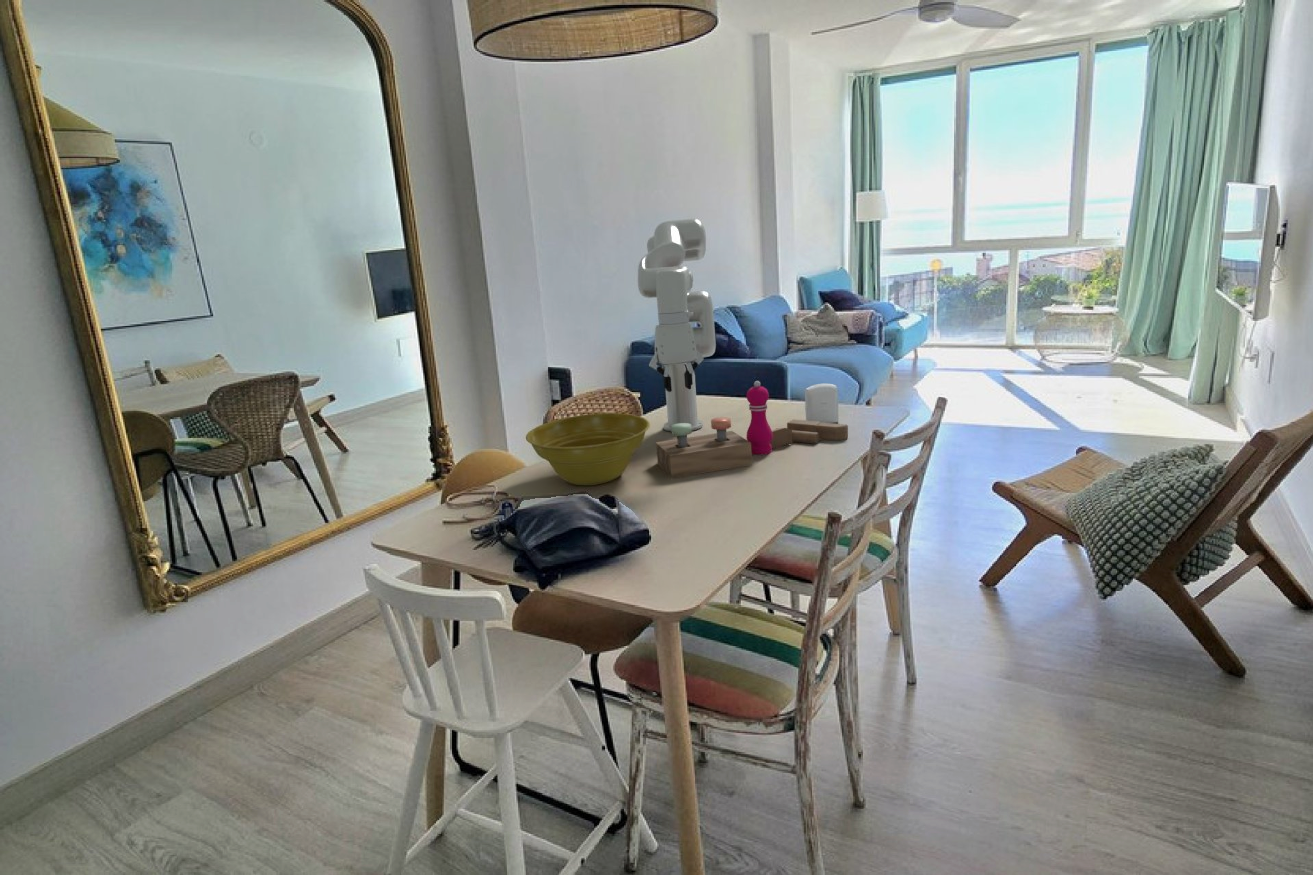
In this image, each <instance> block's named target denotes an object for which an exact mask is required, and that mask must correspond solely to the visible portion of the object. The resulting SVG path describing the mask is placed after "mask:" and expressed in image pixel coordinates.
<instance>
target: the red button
mask: <svg viewBox="0 0 1313 875" xmlns="http://www.w3.org/2000/svg"><path fill="white" fill-rule="evenodd" d="M731 422H732V420H731V418H730V417H726V416H725V417H722V416H721V417H715V418H711V420H710V425H711V429H712V430H716V433H717V442H723V441H727V434H726V432H727V430H728V429H730V428H732V423H731Z"/></svg>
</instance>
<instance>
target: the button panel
mask: <svg viewBox="0 0 1313 875" xmlns="http://www.w3.org/2000/svg"><path fill="white" fill-rule="evenodd" d="M726 434H727V441H723V442H717V432H716V433H710V434H709V433H708V434H702V435H695V436H690V437H689V436H687V443H688V447H684V448H678V441H677V438H674V439H669V440H662V441H656V442H655V447H656V449H655V450H656V460H657V464H658V465H659V467H661V468H662V469H663V471H664V472H666V474H668V476H669V477H670V478H671V479H674V478H680V477H686V476H692V475H697V474H698V475H699V474H703V473H704V474H706V473H710V472H717V471H724V470H729V469H736V468H741V467H748V466H752V465H753V459H752V458H753V457H752V455H753V454H752V453H751V443H750V442H749V441H747V438H744V437H742V436H741V435H740V434H737V433H736V432H735V431H733V430H728V431H727V430H726Z"/></svg>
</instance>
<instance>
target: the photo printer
mask: <svg viewBox="0 0 1313 875" xmlns="http://www.w3.org/2000/svg"><path fill="white" fill-rule="evenodd" d="M804 402H805V403H804V407H805V420H807V421H819V422H822V423H833V424H836V423H838V422H839V390H838V387H837V385H835V384H832V383H817V384H813V385H811V386H809V387H807V388H805V390H804Z"/></svg>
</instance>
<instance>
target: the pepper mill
mask: <svg viewBox="0 0 1313 875" xmlns="http://www.w3.org/2000/svg"><path fill="white" fill-rule="evenodd" d="M753 385H754V386H753V387H751V388H749V389H748V390H747V392H746V400H747V402H748V403H749V405H748V407H749V408H748V410H749V411H750V413H751V418H750V419H751V420H750V423H749V425H748V426H749V427H748V428H747V431H746V440H747V441H749V442H750V443H751V453H752V455H757V456H760V455H768V454H770V453H772V451H773V450H772V449H773V447H771V444H769V443H770V442H771V440H772V439H773V434H772V431H773V430H772V428H771V426H770V424H769V422H768V420H767V419H768V418H767V410H768V403H767V402H768V401H769V399H770V395H769V394H770V393H769V391H768V389H767V388H765V386H761V382H760V380H756V381H754V383H753Z"/></svg>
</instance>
